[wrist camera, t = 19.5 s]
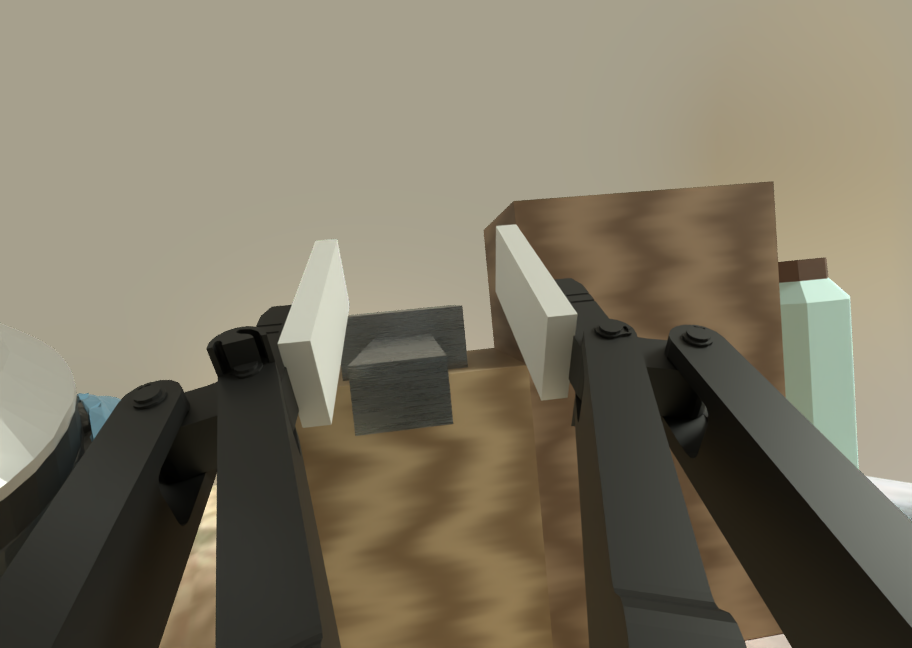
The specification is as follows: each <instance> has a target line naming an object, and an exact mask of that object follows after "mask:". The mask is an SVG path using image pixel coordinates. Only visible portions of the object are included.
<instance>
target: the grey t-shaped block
mask: <svg viewBox="0 0 912 648" xmlns="http://www.w3.org/2000/svg"><path fill="white" fill-rule="evenodd" d="M465 367H468V362H467V351H466V341H465V330H464V320H463V309H462V306H456V305H455V306H454V305H448V306H439V307H428V308H418V309H407V310H398V311H388V312H377V313H367V314H357V315H349V316H348V319H347V326H346V332H345V339H344V345H343V352H342V359H341V369H342V378H343V381H349V383H350V392H351V402H352V411H353V420H354V429H355V436H360V435H368V434H376V433H384V432H392V431H401V430H409V429H417V428H425V427H433V426H441V425H449V424H453V415H452V404H451V394H450V384H449V374H448V369H457V368H465Z"/></svg>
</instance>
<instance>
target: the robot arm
mask: <svg viewBox="0 0 912 648" xmlns="http://www.w3.org/2000/svg"><path fill="white" fill-rule="evenodd" d="M496 294H497V296H498V299H499V301H500V303H501V306H502V308H503V311H504V313H505V315H506V318H507V320H508V322H509V325H510V327H511V330H512V332H513V334H514V337H515V339H516V341H517V344H518V346H519V349H520V351H521V353H522V356H523V358H524V361H525V363H526V365H527V368H528V370H529V372H530V375H531V377H532V380H533V382H534V384H535V387H536V389H537V392H538V394H539V396H540V399H541V401H543V400H551V399H560V398H568V391H569V383H571V385H572V387H573V389H574V390H575V400H574V408H573V416H572V423H571V426H575V432H576V448H577V463H578V479H579V495H580V510H581V526H582V541H583V557H584V572H585V588H586V603H587V619H588V634H589V648H747V647H746V644H745V641H744V638H743V636H742V634H741V631H740V629H739V626H738V624H737V622H736V621H735V619H734V618H733V617H732V615H731V614H730V613H729V612H726V611H724V610H721V609H719V608H718V606H717V605H716V603H715V602H714V599H713V596H712V594H711V590H710V587H709V583H708V580H707V576H706V573H705V569H704V566H703V562H702V559H701V555H700V552H699V549H698V545H697V542H696V538H695V535H694V531H693V528H692V524H691V521H690V517H689V514H688V510H687V507H686V503H685V500H684V497H683V493H682V490H681V486H680V483H679V479H678V476H677V472H676V469H675V465H674V462H673V458H672V455H671V451H672V452H673V454H674V456H675V457H676V459H677V461H678V462H679V464H680V465H681V467H682V469H683V470H684V472H685V474H686V475H687V477H688V478H689V480H690V482H691V483H692V485H693V487H694V488H695V490H696V492H697V493H698V495H699V496H700V498H701V500H702V501H703V503H704V505H705V506H706V508H707V509H708V511H709V513H710V514H711V516H712V518H713V519H714V521H715V523H716V524H717V526H718V527H719V529H720V531H721V532H722V534H723V536H724V537H725V539H726V540H727V542H728V544H729V545H730V547H731V549H732V550H733V552H734V554H735V555H736V557H737V558H738V560H739V562H740V563H741V565H742V567H743V568H744V570H745V572H746V573H747V575H748V576H749V578H750V580H751V581H752V583H753V585H754V586H755V588H756V589H757V591H758V593H759V594H760V596H761V598H762V599H763V601H764V603H765V604H766V606H767V607H768V609H769V611H770V612H771V614H772V616H773V617H774V619H775V620H776V622H777V624H778V625H779V627H780V629H781V630H782V632H783V634H784V635H785V637H786V638H787V640H788V642H789V643H790V645H791V647H792V648H912V521H911V520H910V519H909V518H908V517H907V516H906V515H905V514H904V513H903V512H902V511H901V510H900V509H898V508H897V507H896V506H895V505H894V504H893V503H892V502H891V501H890V500H889V499H888V498H887V497H886V496H885V495H884V494H883V493H882V492H881V491H880V490H879V489H878V488H877V487H876V486H875V485H874V484H873V483H872V482H871V481H870V480H869V479H868V478H867V477H866V476H865V475H864V474H863V473H862V472H861V471H860V470H859V469H858V468H857V467H856V466H855V465H854V464H853V463H852V462H851V461H850V460H848V459H847V458H846V457H845V456H844V455H843V454H842V453H841V452H840V451H839V450H838V449H837V448H836V447H835V446H834V445H833V444H832V443H831V442H830V441H829V440H828V439H827V438H826V437H825V436H824V435H823V434H822V433H821V432H820V431H819V430H818V429H817V428H816V427H815V426H814V425H813V424H812V423H811V422H810V421H809V420H808V419H807V418H806V417H805V416H804V415H803V414H802V413H801V412H799V411H798V410H797V409H796V408H795V407H794V406H793V405H792V404H791V403H790V402H789V401H788V400H787V399H786V398H785V397H784V396H783V395H782V394H781V393H780V392H779V391H778V390H777V389H776V388H775V387H774V386H773V385H772V384H771V383H770V382H769V381H768V380H767V379H766V378H765V377H764V376H763V375H762V374H761V373H760V372H759V371H758V370H757V369H756V368H755V367H754V366H753V365H752V364H751V363H749V362H748V361H747V360H746V359H745V358H744V357H743V356H742V355H741V354H740V353H739V352H738V351H737V350H736V349H735V348H734V347H733V346H732V345H731V344H730V343H729V342H728V341H727V340H726V339H725V338H724V337H723V336H721V335H720V334H719V333H717V332H716V331H714V330H711V329H709V328H707V327H704V326H699V325H680V326H676V327H674V328H672V329H671V330H670V333H669V336H668V340H659V339H648V338H641V337H637V333H636V332H635V330H634V329H633V327H631V326H630V325H628V324H627V323H624V322H622V321H619V320H615V319H609V318H608V316H607V315H606V314H605V312H604V311H603V310H602V309H601V307H600V306H599V305H598V304H597V302H596V301H594V298H593V297H592V296H591V295H590V294H589V292H588V291H587V290H586V288H585V287H584V286H583V285H582V284H581V283H579V282H577V281H575V280H574V279H572V278H564V279H553V277H552V276H551V275H550V273H549V272H548V270H547V269H546V267H545V266H544V264H543V263H542V261H541V260H540V258H539V257H538V256H537V254H536V253H535V251H534V250H533V248H532V247H531V245H530V244H529V242H528V241H527V239H526V238H525V237H524V235H523V234H522V232H521V231H520V229H519V228H518V226H517V225H516V224H514V225H501V226H496ZM349 306H350V304H349V299H348V294H347V289H346V283H345V278H344V273H343V267H342V262H341V257H340V251H339V246H338V241H337V239H331V240H318V241H315V244H314V247H313V250H312V252H311V255H310V257H309V260H308V263H307V265H306V268H305V271H304V274H303V276H302V279H301V282H300V285H299V287H298V290H297V293H296V295H295V298H294V301H293V303H292V305H286V306H276V307H271V308H270V309H269V310H268V311H266V312H265V313H264V314H263V315H262V316H261V317H260V319H259V321H258V323H257V327H251V326H246V327H239V328H234V329H231V330H228V331H225V332H223V333H221V334H220V335H218V336H216V337H215V338H214V339H212V340H211V341H210V342H209V344H208V346H207V351H208V354H209V356H210V359H211V361H212V364H213V366H214V369H215V371H216V374H217V376H218V382H216V383H213V384H211V385H208V386H205V387H202V388H198V389H195V390H192V391H188V392H185V393H184V391H183V389H182V387H181V386H180V384H179V383H178V382H175V381H172V380H160V381H155V382H150V383H147V384H144V385H143V386H142V385H141V386H139V387H137V388H136V389H134V390H133V391H131V392H130V393H128V394H126V395H125V396H124V397H123V398H122V399H121V400H120V399H119V398H117V397H111V396H95V395H89V394H88V393H87V394H80V393H79V394H76V385H75V381H74V378H73V374H72V371H71V369H70V368H69V366H68V365H67V363H66V362H65V360H64V359H63V357H62V356H61V355H60V354H59V353H58V352H57V351H56V350H55V349H54V348H52V347H51V346H49V345H47V344H46V343H44V342H43V341H41V340H40V339H38V338H36V337H34V336H31V335H29V334H27V333H25V332H23V331H20V330H18V329H15V328H13V327H10V326H8V325H5V324H3V323H0V648H159V645H160V642H161V639H162V636H163V633H164V630H165V627H166V624H167V621H168V618H169V615H170V612H171V609H172V606H173V603H174V600H175V597H176V594H177V591H178V588H179V585H180V582H181V579H182V576H183V573H184V570H185V567H186V564H187V561H188V558H189V555H190V552H191V549H192V546H193V543H194V540H195V537H196V534H197V531H198V528H199V525H200V522H201V519H202V516H203V513H204V510H205V507H206V504H207V501H208V498H209V495H210V492H211V489H212V486H213V483H214V480H215V477H216V474H217V538H216V648H341V644H340V639H339V634H338V629H337V624H336V619H335V614H334V609H333V604H332V599H331V594H330V589H329V584H328V579H327V575H326V570H325V565H324V560H323V555H322V550H321V545H320V540H319V535H318V530H317V525H316V520H315V515H314V510H313V505H312V500H311V495H310V490H309V485H308V480H307V475H306V470H305V465H304V460H303V455H302V450H301V445H300V440H299V436H298V433H297V430H296V427H295V425H296V420H297V416H298V414H299V417H300V421H301V424H302V427H303V428H307V427H316V426H325V425H331V424H332V418H333V411H334V405H335V398H336V392H337V385H338V378H339V372H340V365H341V359H342V352H343V345H344V339H345V332H346V326H347V319H348V313H349ZM669 447H670V448H669ZM670 449H671V451H670Z"/></svg>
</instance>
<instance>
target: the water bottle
mask: <svg viewBox="0 0 912 648" xmlns="http://www.w3.org/2000/svg"><path fill="white" fill-rule="evenodd" d="M778 271H779V288H780V306H781V323H782V341H783V358H784V376H785V393H786V399H787V400H788V401H789V402H790V403H791V404H792V405H793V406H794V407H795V408H796V409H797V410H798V411H799V412H801V413H802V414H803V415H804V416H805V417H806V418H807V419H808V420H809V421H810V422H811V423H812V424H813V425H814V426H815V427H816V428H817V429H818V430H819V431H820V432H821V433H822V434H823V435H824V436H825V437H826V438H827V439H828V440H829V441H830V442H831V443H832V444H833V445H834V446H835V447H836V448H837V449H838V450H839V451H840V452H841V453H842V454H843V455H844V456H845V457H846V458H847V459H848V460H850V461H851V462H852V463H853V464H854V465H855V466H856V467H857V468H858V469H859V467H858V447H857V427H856V407H855V387H854V366H853V345H852V325H851V305H850V296H849V295H848V294H847V293H846V292H845V291H843V290H842V289H841V288H840V287H839V286H837V285H836V284H835V283H834V282H833V281H832V280H830V279H829V278H828V270H827V261H826V258H815V259H806V260H795V261H785V262H778Z"/></svg>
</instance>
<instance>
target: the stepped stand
mask: <svg viewBox="0 0 912 648" xmlns="http://www.w3.org/2000/svg"><path fill="white" fill-rule="evenodd" d="M514 224H516V225H517V226H518V228H519V229H520V231H521V232H522V234H523V235H524V237H525V238H526V239H527V241H528V242H529V244H530V245H531V247H532V248H533V250H534V251H535V253H536V254H537V256H538V257H539V258H540V260H541V261H542V263H543V264H544V266H545V267H546V269H547V270H548V272H549V273H550V275H551V276H552V277H553V279H564V278H572V279H574V280H575V281H577V282H579V283H581V284H582V285H583V286H584V287H585V288H586V290H587V291H588V292H589V294H590V295H591V296H592V297H593V298H594V301H596V302H597V304H598V305H599V306H600V307H601V309H602V310H603V311H604V312H605V314H606V315H607V316H608V318H609V319H615V320H619V321H622V322H624V323H627V324H628V325H630V326H631V327H633V329H634V330H635V332H636V333H637V337H641V338H648V339H659V340H668V336H669V333H670V330H671V329H672V328H674V327H676V326H680V325H699V326H704V327H707V328H709V329H711V330H714V331H716V332H717V333H719V334H720V335H721V336H723V337H724V338H725V339H726V340H727V341H728V342H729V343H730V344H731V345H732V346H733V347H734V348H735V349H736V350H737V351H738V352H739V353H740V354H741V355H742V356H743V357H744V358H745V359H746V360H747V361H748V362H749V363H751V364H752V365H753V366H754V367H755V368H756V369H757V370H758V371H759V372H760V373H761V374H762V375H763V376H764V377H765V378H766V379H767V380H768V381H769V382H770V383H771V384H772V385H773V386H774V387H775V388H776V389H777V390H778V391H779V392H780V393H781V394H782V395H783V396H784V397H785V398H786V393H785V376H784V358H783V341H782V323H781V306H780V288H779V271H778V253H777V236H776V218H775V201H774V184H773V182H759V183H746V184H734V185H720V186H708V187H693V188H680V189H667V190H654V191H641V192H628V193H614V194H602V195H588V196H575V197H562V198H550V199H536V200H522V201H513V202H512V203H511V204H510V205H509V206H508V207H507V208H506V209H505V210H504V211H503V212H502V213H501V214H500V215H499V216H498V217H497V218H496V219H495V220H494V221H493V222H492V223H491V224H490V225H489V226H487V227H486V228H485V230H484V239H485V250H486V261H487V271H488V283H489V293H490V305H491V314H492V326H493V337H494V348H489V349H481V350H471V351H467V362H468V367H465V368H457V369H448V374H449V384H450V394H451V404H452V415H453V424H449V425H441V426H433V427H425V428H417V429H409V430H401V431H392V432H384V433H376V434H368V435H360V436H355V429H354V420H353V411H352V402H351V392H350V383H349V381H343V378H342V369H341V365H340V372H339V378H338V385H337V392H336V398H335V405H334V411H333V418H332V424H331V425H325V426H316V427H307V428H303V427H302V424H301V421H300V417H299V414H298V416H297V420H296V425H295V427H296V430H297V433H298V436H299V440H300V445H301V450H302V455H303V460H304V465H305V470H306V475H307V480H308V485H309V490H310V495H311V500H312V505H313V510H314V515H315V520H316V525H317V530H318V535H319V540H320V545H321V550H322V555H323V560H324V565H325V570H326V575H327V579H328V584H329V589H330V594H331V599H332V604H333V609H334V614H335V619H336V624H337V629H338V634H339V639H340V644H341V648H589V634H588V619H587V603H586V588H585V572H584V557H583V541H582V526H581V510H580V495H579V479H578V463H577V448H576V432H575V426H571V423H572V416H573V408H574V400H575V390H574V389H573V387H572V385H571V383H569V391H568V398H560V399H551V400H543V401H541V399H540V396H539V394H538V392H537V389H536V387H535V384H534V382H533V380H532V377H531V375H530V372H529V370H528V368H527V365H526V363H525V361H524V358H523V356H522V353H521V351H520V349H519V346H518V344H517V341H516V339H515V337H514V334H513V332H512V330H511V327H510V325H509V322H508V320H507V318H506V315H505V313H504V311H503V308H502V306H501V303H500V301H499V299H498V296H497V294H496V226H501V225H514ZM669 448H670V447H669ZM670 451H671V449H670ZM671 455H672V458H673V462H674V465H675V469H676V472H677V476H678V479H679V483H680V486H681V490H682V493H683V497H684V500H685V503H686V507H687V510H688V514H689V517H690V521H691V524H692V528H693V531H694V535H695V538H696V542H697V545H698V549H699V552H700V555H701V559H702V562H703V566H704V569H705V573H706V576H707V580H708V583H709V587H710V590H711V594H712V596H713V599H714V602H715V603H716V605H717V606H718V608H719V609H721V610H724V611H726V612H729V613H730V614H731V615H732V617H733V618H734V619H735V621H736V622H737V624H738V626H739V629H740V631H741V634H742V636H743V638H744V640H749V639H755V638H760V637H765V636H771V635H776V634H782V633H783V632H782V630H781V629H780V627H779V625H778V624H777V622H776V620H775V619H774V617H773V616H772V614H771V612H770V611H769V609H768V607H767V606H766V604H765V603H764V601H763V599H762V598H761V596H760V594H759V593H758V591H757V589H756V588H755V586H754V585H753V583H752V581H751V580H750V578H749V576H748V575H747V573H746V572H745V570H744V568H743V567H742V565H741V563H740V562H739V560H738V558H737V557H736V555H735V554H734V552H733V550H732V549H731V547H730V545H729V544H728V542H727V540H726V539H725V537H724V536H723V534H722V532H721V531H720V529H719V527H718V526H717V524H716V523H715V521H714V519H713V518H712V516H711V514H710V513H709V511H708V509H707V508H706V506H705V505H704V503H703V501H702V500H701V498H700V496H699V495H698V493H697V492H696V490H695V488H694V487H693V485H692V483H691V482H690V480H689V478H688V477H687V475H686V474H685V472H684V470H683V469H682V467H681V465H680V464H679V462H678V461H677V459H676V457H675V456H674V454H673V452H672V451H671Z"/></svg>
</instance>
